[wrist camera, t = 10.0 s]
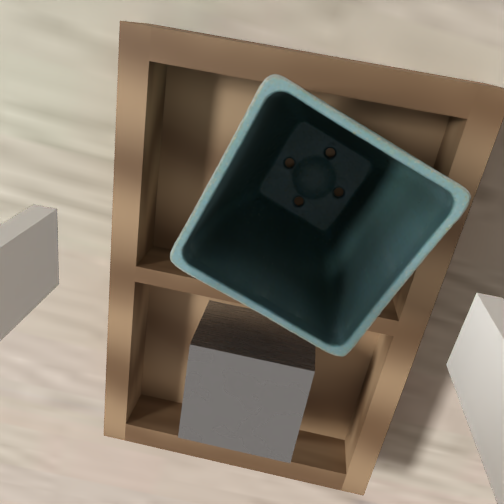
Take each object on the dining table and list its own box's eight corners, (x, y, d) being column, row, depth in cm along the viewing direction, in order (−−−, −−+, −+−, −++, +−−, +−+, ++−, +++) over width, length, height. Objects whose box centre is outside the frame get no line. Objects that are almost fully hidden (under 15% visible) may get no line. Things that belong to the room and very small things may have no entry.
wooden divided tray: (148, 23, 26) (119, 20, 22) (485, 83, 25) (513, 91, 21) (125, 396, 37) (103, 435, 33) (359, 449, 36) (363, 495, 32)
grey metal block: (209, 300, 31) (189, 344, 27) (316, 322, 31) (314, 371, 26) (197, 384, 34) (178, 437, 29) (294, 406, 34) (290, 463, 29)
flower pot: (286, 58, 25) (268, 67, 17) (430, 146, 25) (479, 196, 17) (210, 198, 28) (163, 262, 20) (337, 272, 29) (342, 362, 21)
